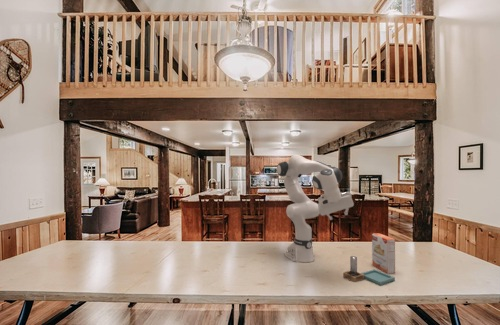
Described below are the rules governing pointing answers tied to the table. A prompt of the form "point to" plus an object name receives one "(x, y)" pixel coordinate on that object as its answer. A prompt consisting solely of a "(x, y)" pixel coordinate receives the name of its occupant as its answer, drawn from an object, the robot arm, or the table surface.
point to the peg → (353, 266)
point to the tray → (378, 277)
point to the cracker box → (383, 253)
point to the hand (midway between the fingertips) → (338, 217)
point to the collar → (352, 278)
